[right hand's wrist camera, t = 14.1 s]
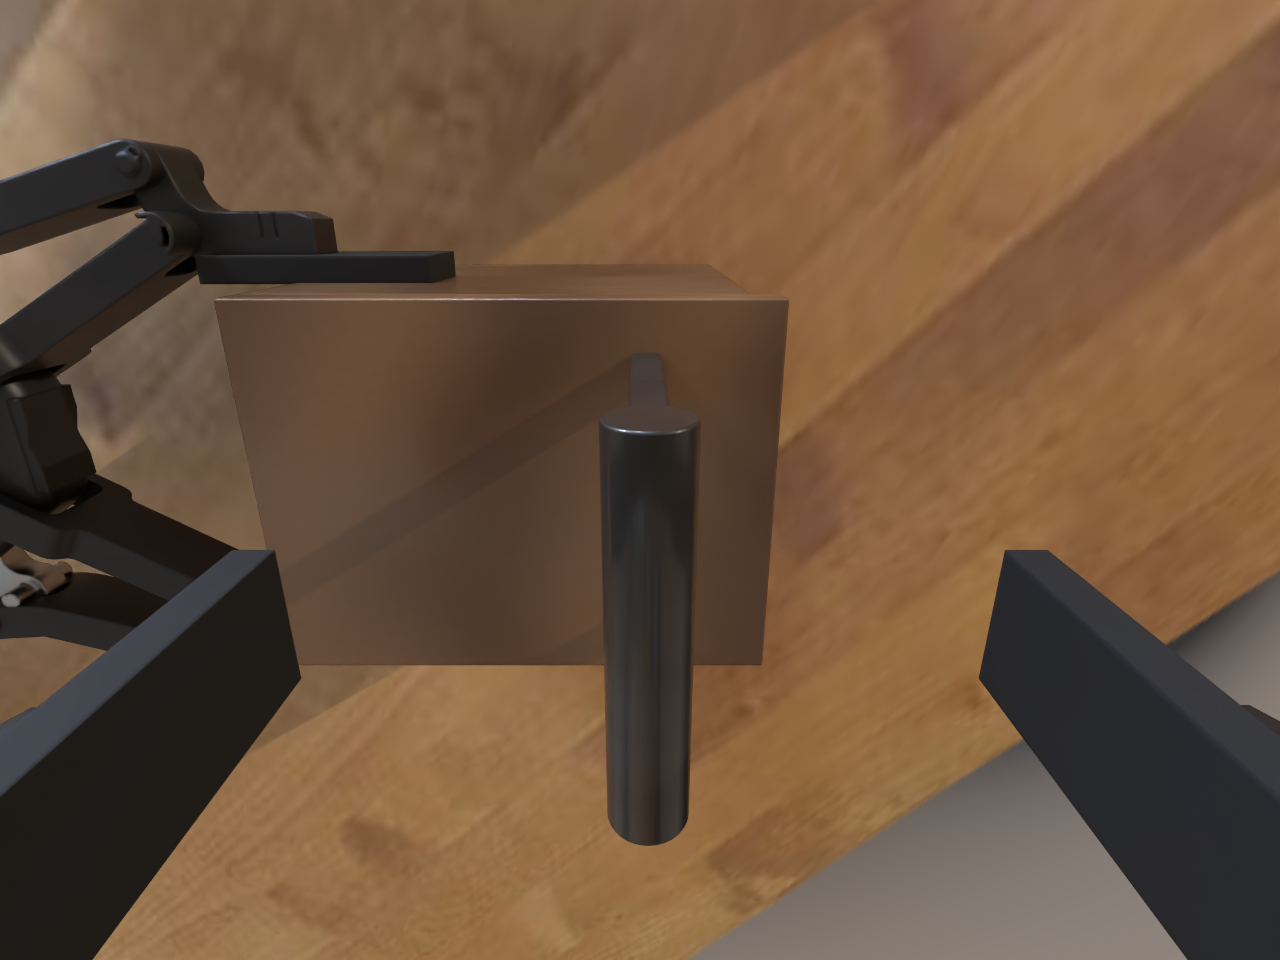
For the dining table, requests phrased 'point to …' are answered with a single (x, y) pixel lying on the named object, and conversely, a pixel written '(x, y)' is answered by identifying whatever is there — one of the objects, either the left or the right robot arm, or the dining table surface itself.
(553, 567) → the lid
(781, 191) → the dining table surface
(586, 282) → the chest
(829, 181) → the dining table surface
